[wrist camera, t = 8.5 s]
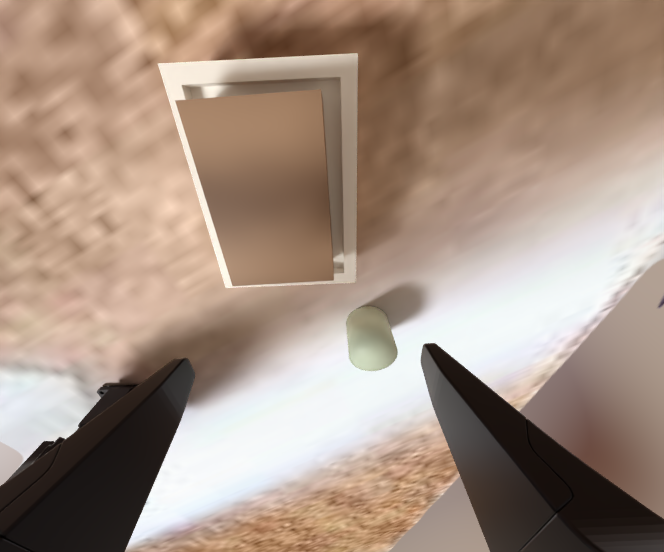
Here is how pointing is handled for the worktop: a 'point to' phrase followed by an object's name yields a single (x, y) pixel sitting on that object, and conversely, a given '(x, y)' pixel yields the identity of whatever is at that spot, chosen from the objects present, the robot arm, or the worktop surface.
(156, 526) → the worktop surface
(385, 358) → the knob
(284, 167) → the lid
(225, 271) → the box base
